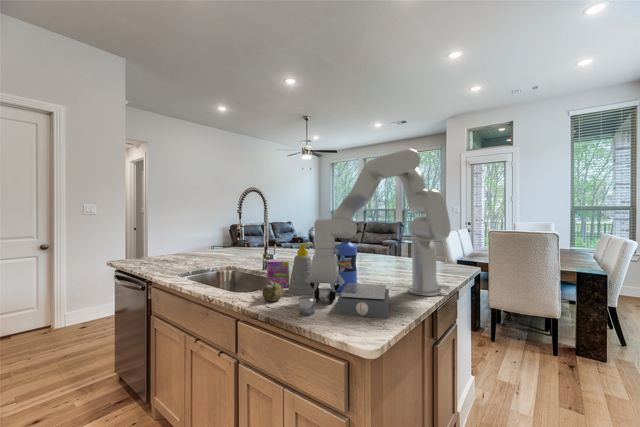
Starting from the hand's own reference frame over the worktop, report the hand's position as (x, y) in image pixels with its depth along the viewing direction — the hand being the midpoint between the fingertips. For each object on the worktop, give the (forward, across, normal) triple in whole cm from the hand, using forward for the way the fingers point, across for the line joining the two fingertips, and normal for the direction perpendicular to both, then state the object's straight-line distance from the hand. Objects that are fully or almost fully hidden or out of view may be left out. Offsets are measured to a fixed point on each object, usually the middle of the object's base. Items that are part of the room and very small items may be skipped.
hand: (325, 300), depth 107 cm
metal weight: (+1, 0, 0) cm, 1 cm away
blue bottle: (+1, -5, -18) cm, 19 cm away
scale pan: (-5, -15, +3) cm, 16 cm away
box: (+1, +26, -19) cm, 32 cm away
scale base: (+1, -15, +3) cm, 15 cm away
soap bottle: (+1, +13, -13) cm, 18 cm away
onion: (+1, +20, +2) cm, 20 cm away
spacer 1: (+1, +3, +13) cm, 13 cm away
